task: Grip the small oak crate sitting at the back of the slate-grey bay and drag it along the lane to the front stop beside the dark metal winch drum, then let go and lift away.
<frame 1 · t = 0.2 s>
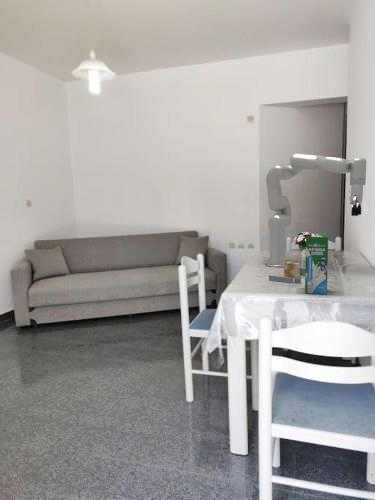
hand: (356, 215, 204), 31 cm above the table, fingers open, 9 cm apart
crate: (292, 269, 198), point 5 cm above the table, slide at 0.0 cm
bay: (288, 280, 195), on the table
milk carton: (315, 291, 171), on the table
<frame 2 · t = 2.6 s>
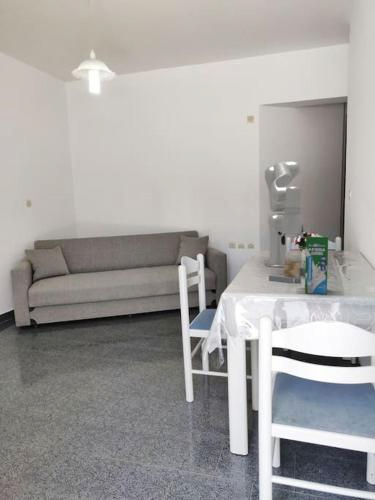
hand: (292, 245, 196), 17 cm above the table, fingers open, 9 cm apart
nothing on the table moved.
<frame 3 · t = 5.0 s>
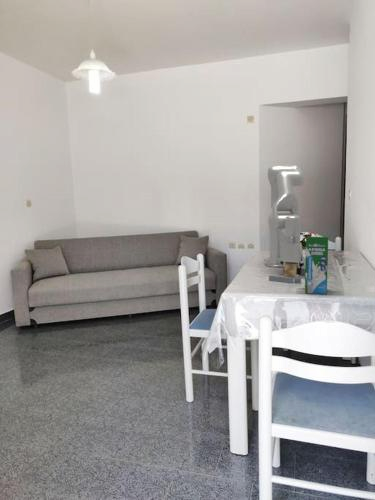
hand: (292, 274, 198), 2 cm above the table, fingers closed on crate, 6 cm apart
crate: (292, 269, 198), point 5 cm above the table, slide at 0.0 cm, touching gripper
everything else where it was.
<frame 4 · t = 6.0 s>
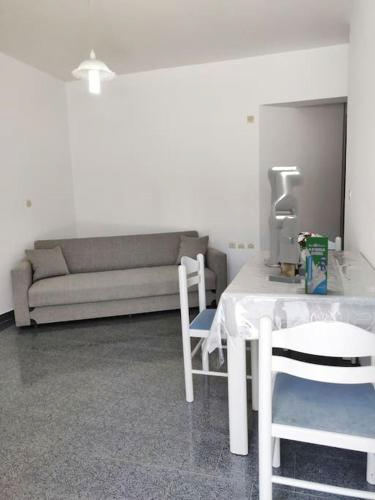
hand: (290, 275, 196), 2 cm above the table, fingers closed on crate, 6 cm apart
crate: (290, 270, 196), point 5 cm above the table, slide at 2.7 cm, touching gripper
everything else where it was.
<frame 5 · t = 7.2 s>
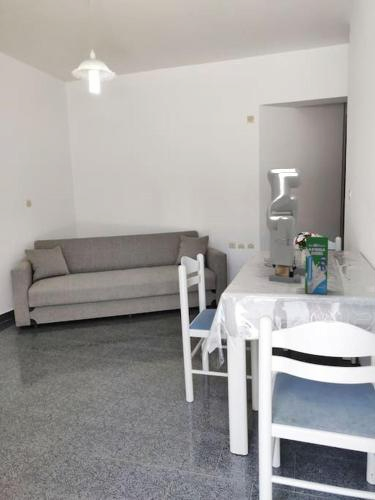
hand: (284, 277, 191), 2 cm above the table, fingers closed on crate, 6 cm apart
crate: (284, 272, 190), point 5 cm above the table, slide at 9.7 cm, touching gripper
everything else where it was.
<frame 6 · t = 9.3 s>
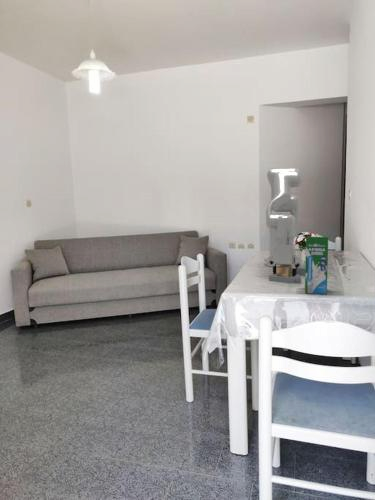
hand: (284, 275, 191), 3 cm above the table, fingers open, 9 cm apart
crate: (284, 272, 190), point 5 cm above the table, slide at 9.8 cm
everything else where it was.
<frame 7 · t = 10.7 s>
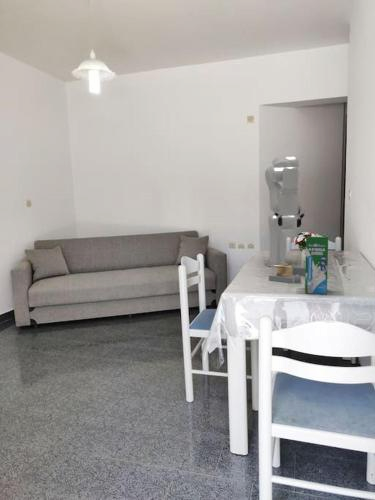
hand: (289, 226, 194), 27 cm above the table, fingers open, 9 cm apart
nothing on the table moved.
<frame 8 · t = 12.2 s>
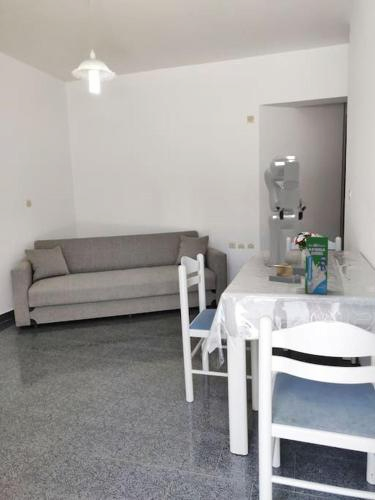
hand: (290, 219, 195), 30 cm above the table, fingers open, 9 cm apart
nothing on the table moved.
at the end: crate slide at 9.8 cm; the gripper is holding nothing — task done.
